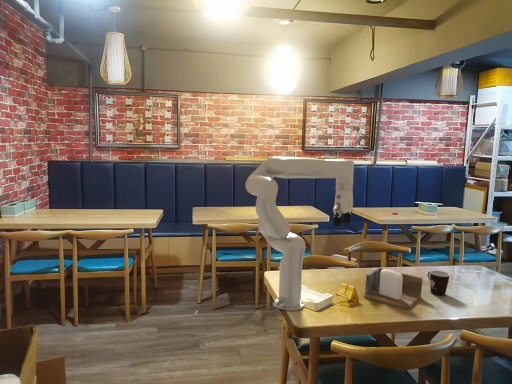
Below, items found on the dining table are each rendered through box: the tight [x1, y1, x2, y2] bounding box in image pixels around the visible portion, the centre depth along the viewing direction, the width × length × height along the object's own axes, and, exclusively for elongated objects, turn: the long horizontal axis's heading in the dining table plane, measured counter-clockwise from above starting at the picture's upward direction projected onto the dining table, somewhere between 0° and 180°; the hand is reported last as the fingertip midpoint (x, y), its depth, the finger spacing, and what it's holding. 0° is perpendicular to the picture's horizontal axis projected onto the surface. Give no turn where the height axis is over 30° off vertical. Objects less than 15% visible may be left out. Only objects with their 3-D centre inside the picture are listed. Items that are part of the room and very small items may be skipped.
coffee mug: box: [427, 269, 451, 297], centre depth 192 cm, size 12×9×10 cm
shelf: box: [363, 267, 423, 311], centre depth 184 cm, size 18×20×10 cm
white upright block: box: [379, 268, 403, 300], centre depth 182 cm, size 10×4×12 cm, turn 43°
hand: (342, 224), depth 183 cm, fingers open, 9 cm apart
